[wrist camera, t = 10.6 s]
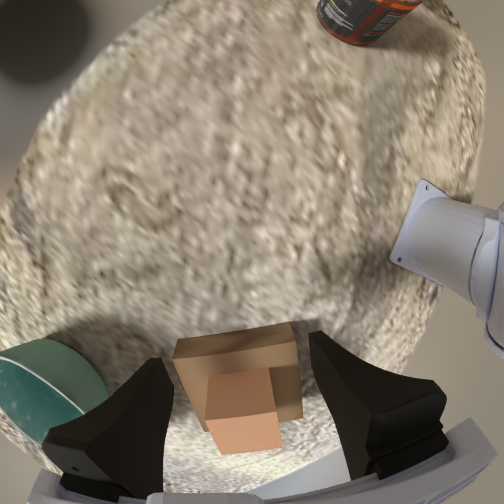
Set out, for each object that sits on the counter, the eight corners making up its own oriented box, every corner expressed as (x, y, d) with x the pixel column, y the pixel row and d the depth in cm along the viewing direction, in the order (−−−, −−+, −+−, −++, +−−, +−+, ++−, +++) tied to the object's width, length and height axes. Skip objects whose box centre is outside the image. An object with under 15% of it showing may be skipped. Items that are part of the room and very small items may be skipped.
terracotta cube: (268, 367, 21) (276, 411, 17) (275, 405, 23) (282, 447, 18) (208, 376, 21) (204, 420, 17) (222, 413, 23) (221, 454, 18)
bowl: (158, 408, 26) (144, 466, 18) (76, 424, 27) (57, 465, 19) (69, 293, 22) (20, 337, 14) (4, 336, 23) (-31, 370, 15)
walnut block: (289, 321, 24) (296, 340, 21) (298, 398, 27) (303, 417, 24) (178, 339, 24) (172, 359, 21) (206, 411, 26) (204, 431, 23)
